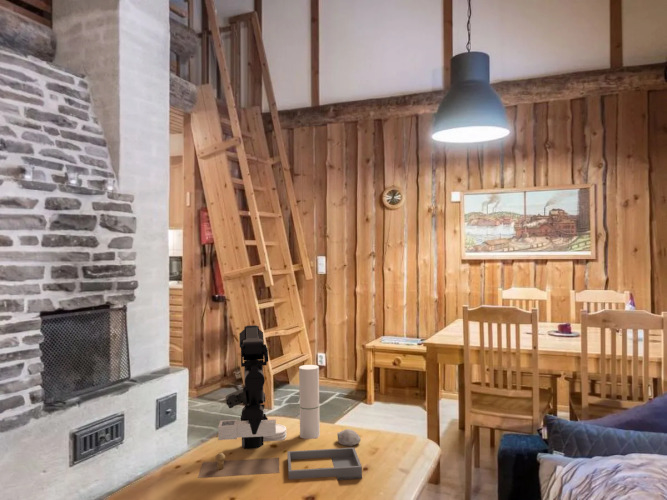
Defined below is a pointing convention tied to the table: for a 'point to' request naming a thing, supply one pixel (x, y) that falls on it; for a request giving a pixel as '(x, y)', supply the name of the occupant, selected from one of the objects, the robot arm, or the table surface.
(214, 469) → the stud board
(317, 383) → the cylindrical container
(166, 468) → the table surface
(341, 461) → the tray
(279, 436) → the white round stack
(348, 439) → the pebble
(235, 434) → the square nut with handle
